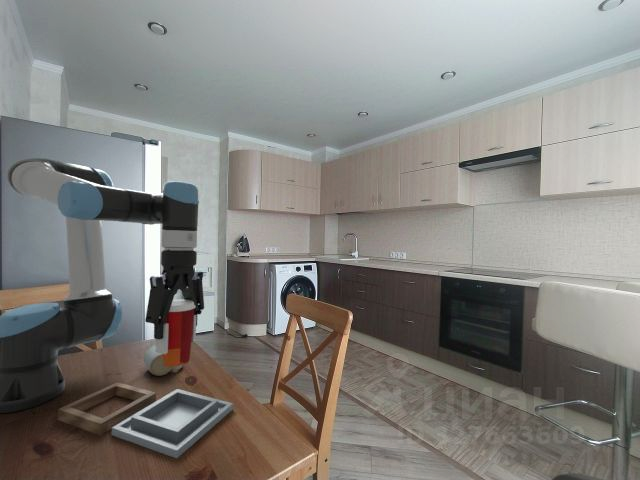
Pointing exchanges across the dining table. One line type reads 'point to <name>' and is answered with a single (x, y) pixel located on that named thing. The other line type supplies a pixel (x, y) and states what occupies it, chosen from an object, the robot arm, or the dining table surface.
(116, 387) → the walnut collar
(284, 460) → the dining table surface
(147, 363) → the ceramic mug
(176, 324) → the paper cup
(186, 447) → the grey tray
